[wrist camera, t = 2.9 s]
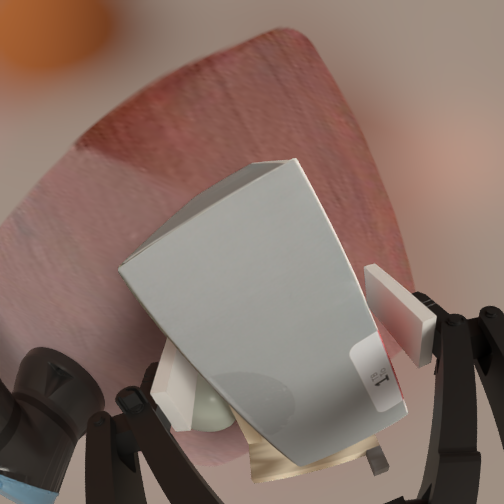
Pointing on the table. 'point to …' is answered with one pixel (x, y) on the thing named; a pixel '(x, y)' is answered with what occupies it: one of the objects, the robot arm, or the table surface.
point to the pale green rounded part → (210, 409)
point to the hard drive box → (270, 311)
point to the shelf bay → (278, 466)
